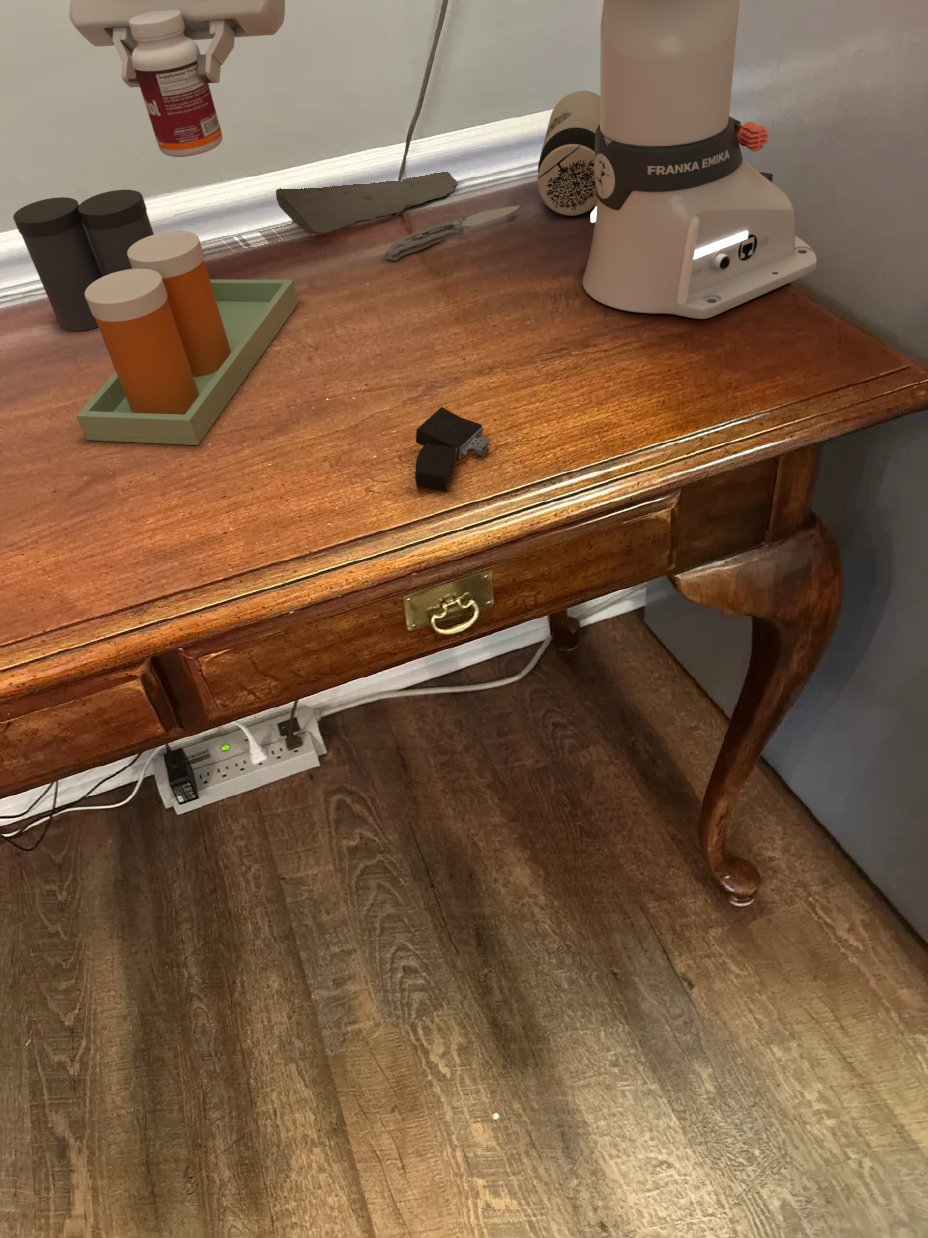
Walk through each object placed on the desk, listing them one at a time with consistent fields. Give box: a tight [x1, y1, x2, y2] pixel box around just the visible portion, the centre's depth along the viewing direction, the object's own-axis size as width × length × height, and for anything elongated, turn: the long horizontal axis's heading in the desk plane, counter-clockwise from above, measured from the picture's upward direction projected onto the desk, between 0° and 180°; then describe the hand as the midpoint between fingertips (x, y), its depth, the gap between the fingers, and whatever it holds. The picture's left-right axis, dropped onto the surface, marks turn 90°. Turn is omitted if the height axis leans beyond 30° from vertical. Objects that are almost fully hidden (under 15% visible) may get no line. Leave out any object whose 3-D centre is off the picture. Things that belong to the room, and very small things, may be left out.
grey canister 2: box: [78, 189, 154, 276], centre depth 95 cm, size 6×6×11 cm
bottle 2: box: [85, 269, 199, 415], centre depth 80 cm, size 6×6×11 cm
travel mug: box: [537, 90, 600, 217], centre depth 109 cm, size 8×8×18 cm
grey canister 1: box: [12, 196, 104, 332], centre depth 95 cm, size 6×6×11 cm
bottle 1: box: [127, 230, 231, 377], centre depth 85 cm, size 6×6×11 cm
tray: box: [75, 278, 300, 446], centre depth 88 cm, size 26×11×2 cm, turn 168°
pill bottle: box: [129, 10, 223, 158], centre depth 88 cm, size 6×6×11 cm
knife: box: [385, 204, 521, 262], centre depth 105 cm, size 2×18×3 cm
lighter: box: [414, 406, 490, 493], centre depth 74 cm, size 8×2×5 cm
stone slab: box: [275, 171, 458, 235], centre depth 112 cm, size 22×3×10 cm
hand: (170, 81), depth 87 cm, fingers closed on pill bottle, 6 cm apart
